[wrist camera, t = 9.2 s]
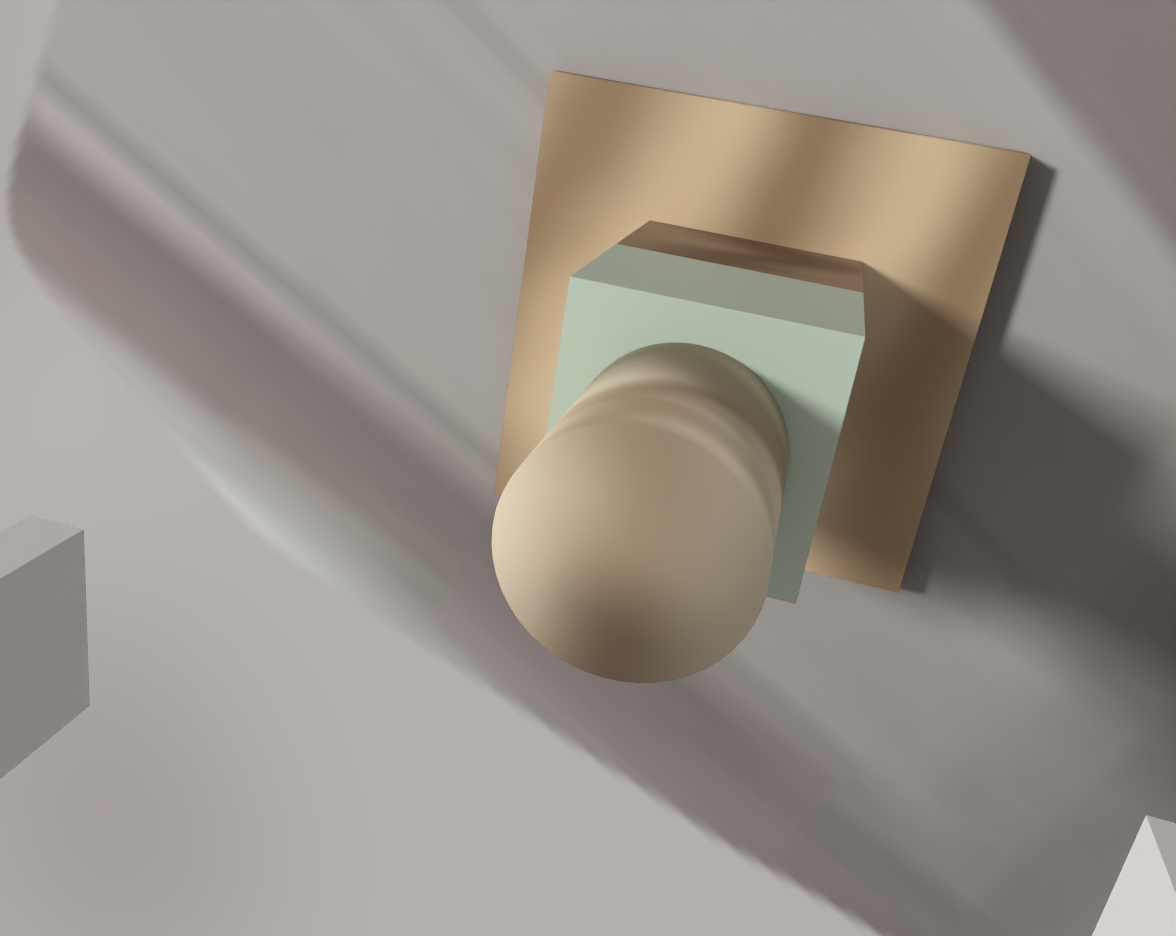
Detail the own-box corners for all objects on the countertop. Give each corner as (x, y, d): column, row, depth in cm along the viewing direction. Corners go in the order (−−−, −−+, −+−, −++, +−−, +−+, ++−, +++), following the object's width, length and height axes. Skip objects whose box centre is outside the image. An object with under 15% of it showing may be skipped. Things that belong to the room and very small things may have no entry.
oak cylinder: (812, 369, 23) (800, 461, 17) (762, 572, 25) (736, 713, 19) (589, 320, 24) (510, 395, 18) (557, 521, 26) (476, 643, 20)
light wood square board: (1025, 152, 30) (1031, 154, 30) (897, 579, 36) (898, 592, 35) (558, 70, 33) (550, 71, 32) (502, 484, 38) (493, 494, 37)
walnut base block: (862, 261, 32) (863, 292, 27) (811, 461, 34) (804, 521, 29) (649, 220, 33) (616, 243, 28) (615, 417, 35) (579, 469, 30)
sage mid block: (863, 292, 27) (865, 337, 22) (804, 521, 29) (795, 603, 25) (616, 243, 28) (569, 276, 23) (579, 469, 30) (530, 538, 26)
